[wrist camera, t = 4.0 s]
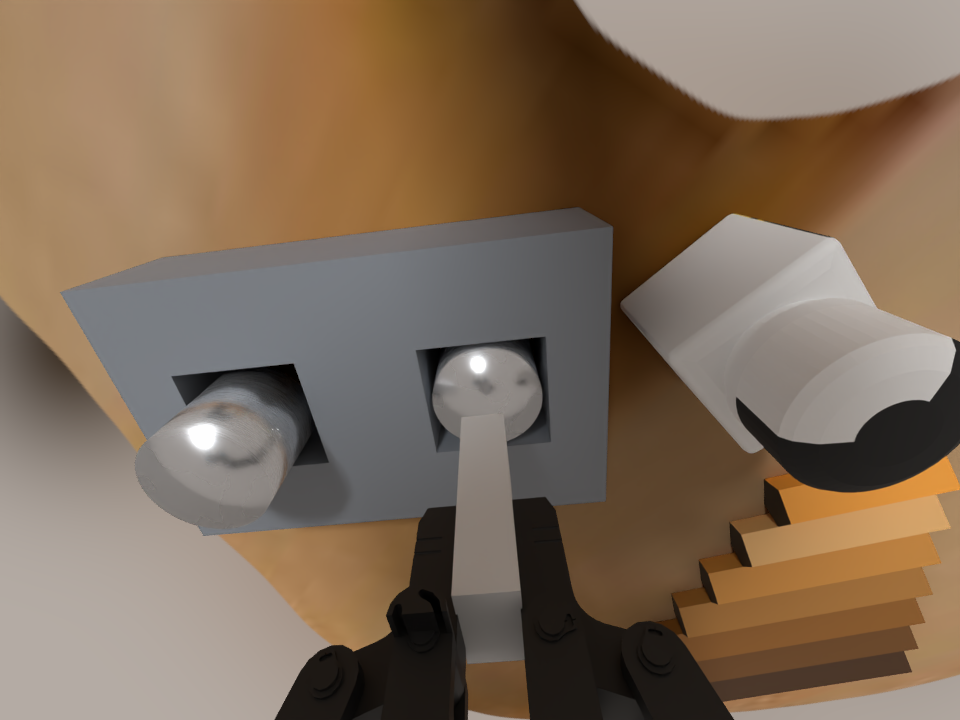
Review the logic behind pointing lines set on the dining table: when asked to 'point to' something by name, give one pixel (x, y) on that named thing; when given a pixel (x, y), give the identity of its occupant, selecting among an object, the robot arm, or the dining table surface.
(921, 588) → the pan flute
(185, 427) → the steel peg
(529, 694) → the robot arm
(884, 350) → the medicine bottle
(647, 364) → the dining table surface
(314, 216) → the dining table surface
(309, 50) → the dining table surface
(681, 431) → the dining table surface
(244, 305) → the peg block
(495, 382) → the steel peg
